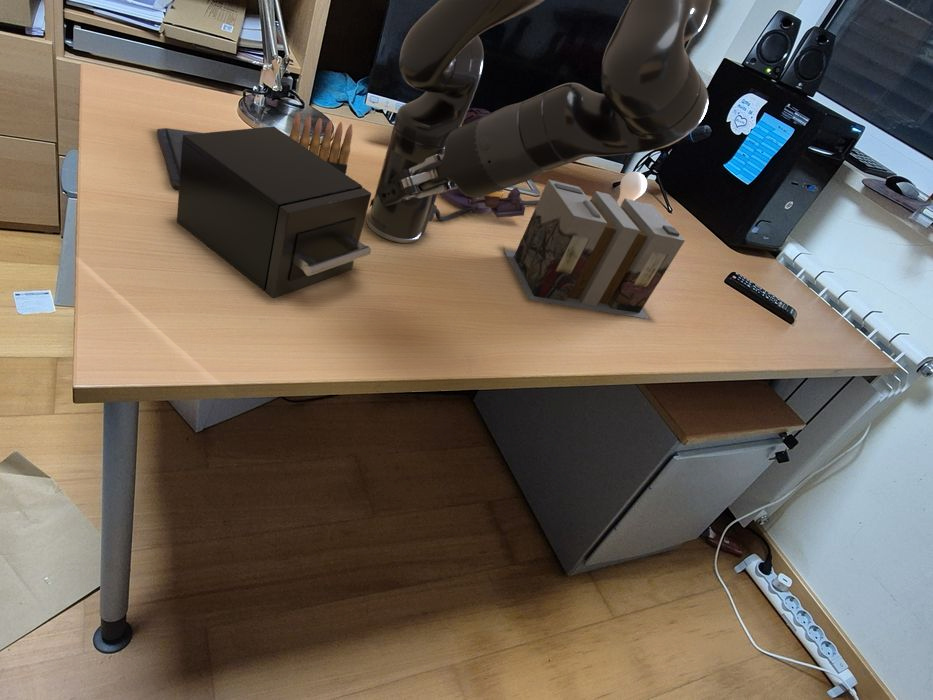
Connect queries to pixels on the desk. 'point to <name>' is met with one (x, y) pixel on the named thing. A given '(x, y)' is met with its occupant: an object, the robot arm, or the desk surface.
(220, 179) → the oven
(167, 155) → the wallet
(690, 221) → the desk surface
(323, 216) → the oven door
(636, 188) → the lightbulb
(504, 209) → the figurine
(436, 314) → the desk surface
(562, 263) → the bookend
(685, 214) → the desk surface
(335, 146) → the ammunition clip
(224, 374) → the desk surface
